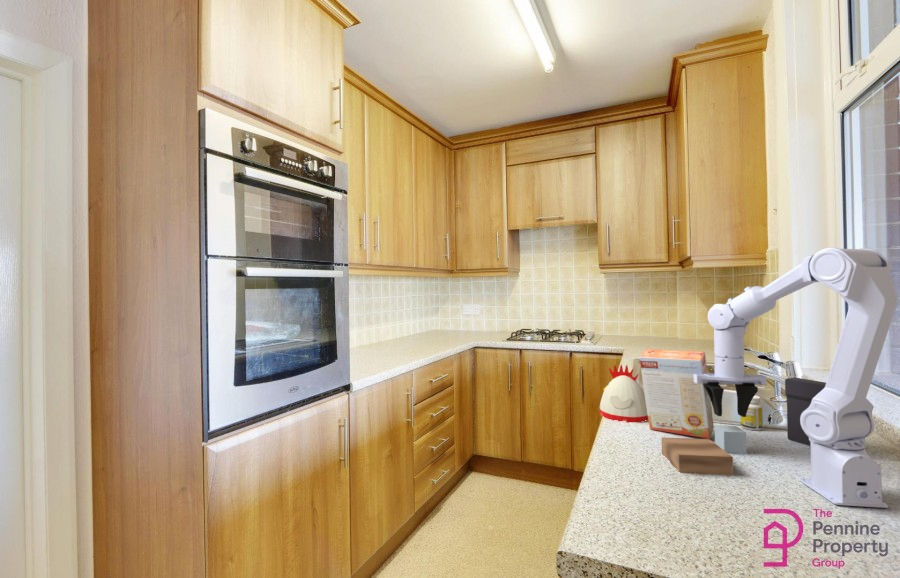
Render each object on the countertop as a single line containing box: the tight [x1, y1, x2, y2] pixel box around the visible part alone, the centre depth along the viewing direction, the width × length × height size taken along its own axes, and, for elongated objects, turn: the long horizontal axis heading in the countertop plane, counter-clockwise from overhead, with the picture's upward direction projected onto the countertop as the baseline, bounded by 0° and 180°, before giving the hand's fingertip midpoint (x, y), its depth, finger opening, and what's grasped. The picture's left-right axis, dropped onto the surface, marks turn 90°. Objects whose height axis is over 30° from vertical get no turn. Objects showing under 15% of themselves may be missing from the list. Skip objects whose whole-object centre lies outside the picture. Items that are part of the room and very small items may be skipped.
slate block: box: [714, 424, 747, 455], centre depth 96 cm, size 4×4×5 cm
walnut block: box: [661, 436, 734, 476], centre depth 88 cm, size 10×10×4 cm
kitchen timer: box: [599, 364, 649, 423], centre depth 123 cm, size 14×14×15 cm
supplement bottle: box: [739, 395, 764, 431], centre depth 110 cm, size 5×5×8 cm
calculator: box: [784, 377, 827, 447], centre depth 97 cm, size 11×4×15 cm, turn 22°
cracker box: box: [639, 348, 715, 440], centre depth 106 cm, size 14×6×21 cm, turn 48°
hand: (729, 415), depth 96 cm, fingers open, 4 cm apart
